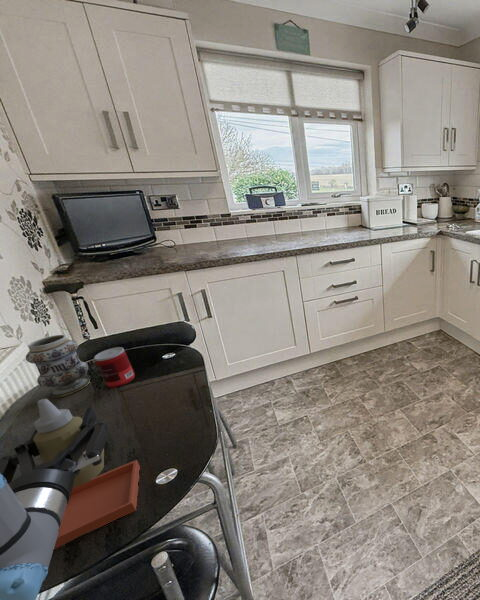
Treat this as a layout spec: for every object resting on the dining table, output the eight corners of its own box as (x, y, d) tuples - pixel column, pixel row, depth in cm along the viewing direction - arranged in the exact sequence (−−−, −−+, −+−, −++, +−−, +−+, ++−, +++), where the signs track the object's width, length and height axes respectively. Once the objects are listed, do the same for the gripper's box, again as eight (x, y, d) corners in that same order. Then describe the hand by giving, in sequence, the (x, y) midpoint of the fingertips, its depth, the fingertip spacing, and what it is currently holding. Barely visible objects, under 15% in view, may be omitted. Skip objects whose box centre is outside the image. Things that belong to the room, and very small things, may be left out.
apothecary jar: (103, 375, 115) (81, 329, 109) (77, 396, 104) (51, 346, 97) (65, 380, 114) (41, 334, 107) (35, 402, 102) (6, 352, 96)
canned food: (135, 371, 115) (123, 344, 112) (136, 381, 110) (123, 352, 106) (107, 381, 111) (94, 353, 107) (107, 391, 105) (92, 362, 101)
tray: (44, 555, 58) (38, 546, 57) (62, 500, 68) (57, 492, 67) (136, 511, 64) (132, 502, 63) (140, 467, 75) (136, 459, 74)
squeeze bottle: (46, 489, 62) (-3, 412, 55) (94, 455, 69) (55, 384, 63) (74, 498, 59) (26, 419, 53) (121, 462, 66) (83, 389, 60)
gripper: (-58, 572, 43) (8, 460, 61) (126, 489, 53) (135, 414, 71) (-93, 533, 40) (-13, 429, 58) (107, 454, 50) (122, 385, 68)
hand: (68, 421), depth 65 cm, fingers closed on squeeze bottle, 6 cm apart
